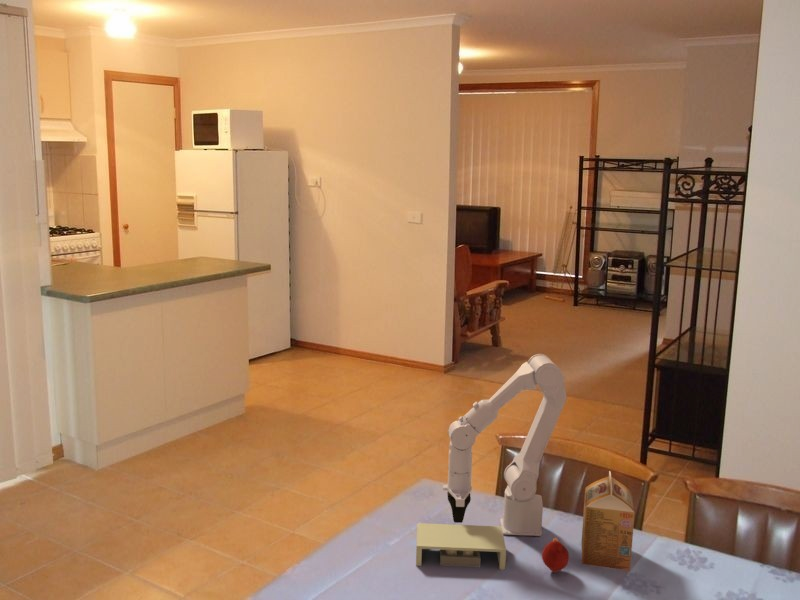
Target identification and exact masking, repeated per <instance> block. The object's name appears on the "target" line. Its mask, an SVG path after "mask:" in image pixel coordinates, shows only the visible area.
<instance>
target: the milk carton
mask: <svg viewBox="0 0 800 600" xmlns="http://www.w3.org/2000/svg"><path fill="white" fill-rule="evenodd" d="M584 490H585V491H584V503H583V517H582V528H581V530H582V531H581V565H585V566H592V567H600V568H608V569H616V570H623V571H631V560H632V549H633V540H634V539H633V536H634V528H635V527H634V525H635V515H636V513H635V505H634V501H633V500H634V499H633V494H632V492H631V491H630V490H629V489H628V487H626V486H625V485H624V484H623V483H621V482H619V481H618V480H616V479H615V478H614V477H612V473H611V471H610V470H609V471H608V476H605V477H603V478H601V479H598V480H596V481H593V482H592V483H590V484H589V485H587V486H585V489H584Z"/></svg>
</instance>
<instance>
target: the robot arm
mask: <svg viewBox="0 0 800 600" xmlns="http://www.w3.org/2000/svg"><path fill="white" fill-rule="evenodd" d="M565 379H566V377H565V376H564V373H563V372H562V370H561V369H560V368H559V366H558V365H557V364H556V363H554V362H553V361H552V359H551V358H550V357H549V356H548V355H547V354H543V353H537V354H534V355H532V356H531V357H530V358H529V359H528V361H525V362H523V363H522V364H521V366H519V368H518V369H517V370H516V372H515V373H514V374H513V375H512V376H510V378H509V379H508V380H507V381H505V383H503V385H502V386H501V387H500V388H498V390H497V391H496V392H495V393H494V394H493V395H492V396H491V397H490V398H489V399H481V400H479V401H475V402H474V403H473V404H472V406H473V407H472V408H470V410H468V411H467V412H466V413H465V414H464V415H463V416H462V415H461V416H459V417H458V420H455V421H453V422H452V423H450V425H449V428H448V429H447V431H446V432H447V435H448V437H449V447H448V448H449V450H448V467H447V469H448V471H447V483H446V484H442V490H443V491H447V501H448V503H449V505H450V507H451V508H450V509H451V512H452V513H451V514H452V520H453V522H454V523H455V524H456V523H458V524H462V523H463V522H464V518H465V513H466V511H467V508H468V506H469V504H470V503H471V500H472V498H471V493H472V490H473V487H472V469H473V468H472V467H473V450H472V449H473V446H474V445H475V443H476V437H477V436H479V435H480V434H482V432H483V431H485V429H487V428H488V427H489V426H490V425H491V424H492V423H493V422H494V421H495V420H497V419H498V416H499V415H498V414H499V410H501V409H502V408H503V407H504V406H505V405H506V404H508V403H509V402H510V401H511V400H513V399H514V398H515V397H517V395H519V394H520V393H522V391H524V390H525V391H526V390H535V391H536V390H538V388H539V389H540V392H541V394H542V395H543V396H542V397H543V398H542V400H541V402H540V404H539V407H538V409H537V411H536V413H535V416H534V418H533V421H532V424H531V425H530V428H529V430H528V432H527V435H526V437H525V440H524V442H523V445H522V446H521V450H520V451H519V453H518V454H516V455H514V457H513V460H512V461H511V462H510V463H509V465H507V466H506V468H505V469H504V472H503V478H504V480H505V482H506V483H507V485H506V488H505V490H504V497H503V499H504V500H503V514H502V515H503V516H502V517H501V518H500V519H499V521H500V526H501V527H502V531H503V536H504V535H507V536H510V535H511V536H530V537H531V536H532V537H534V536H535V537H542V535H543V534H542V525H543V513H544V511H543V508H544V507H543V506H544V505H543V504H544V503H543V499H542V498H543V497H542V495H540V494H536V492H537V487H538V486H537V481H538V478H539V473H540V472H539V471H540V470H539V469H540V468H539V467H540V462H541V461H542V457H543V455H544V452H545V451H546V448H547V446H548V444H549V441H550V439H551V436H552V434H553V432H554V430H555V428H556V425H557V423H558V421H559V418H560V416H561V413H562V411H563V409H564V406H565V403H566V401H567V391H566V386H565V385H566V384H565ZM537 385H538V388H537Z"/></svg>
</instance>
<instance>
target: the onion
mask: <svg viewBox="0 0 800 600" xmlns="http://www.w3.org/2000/svg"><path fill="white" fill-rule="evenodd" d="M569 555H570V554H569V550H568V549H567V547H566V546H565V545H564V544H563V543H562V542H560V541H559V539H558V538H556V537H553V541H550V542H548V543H547V544H546V545H545V546H544V547H543V551H542V554H541V559H542V562H543V564H544V565H545V566H546V567H547V569H549V570H550V571H551V572H552V573H556V572H557V573H558V572H560V571H561V570H563V569H565V568H566V567H567V566H568V562H569V559H570V556H569Z"/></svg>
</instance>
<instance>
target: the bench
mask: <svg viewBox="0 0 800 600" xmlns="http://www.w3.org/2000/svg"><path fill="white" fill-rule="evenodd" d="M416 528H417V529H416V552H415V553H416V555H415V557H416V558H415V566H417V567H422V558H423V557H422V555H423V554H422V553H423V552H422V551H423V550H440V549H442V550H466V551H480V552H490V553H491V552H493V553H494V552H495V553H496V555H497V561H498V566H499V570H506V559H507V547H506V543H505V538H504V534H503V531H502V527H501V525H500V526H499V525H496V526H495V525H472V524H470V525H469V524H447V523H446V524H445V523H444V524H443V523H426V522H424V523H423V522H418V523H417V524H416Z"/></svg>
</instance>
